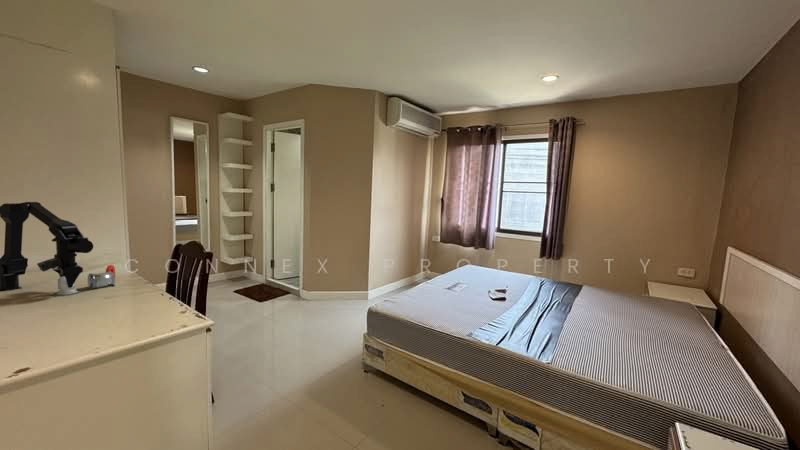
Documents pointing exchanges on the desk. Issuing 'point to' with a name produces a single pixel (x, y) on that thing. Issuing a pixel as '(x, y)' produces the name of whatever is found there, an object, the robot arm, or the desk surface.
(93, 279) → the grey rounded block
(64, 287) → the white knob
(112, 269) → the bracket
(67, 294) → the flange
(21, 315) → the desk surface
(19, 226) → the robot arm
